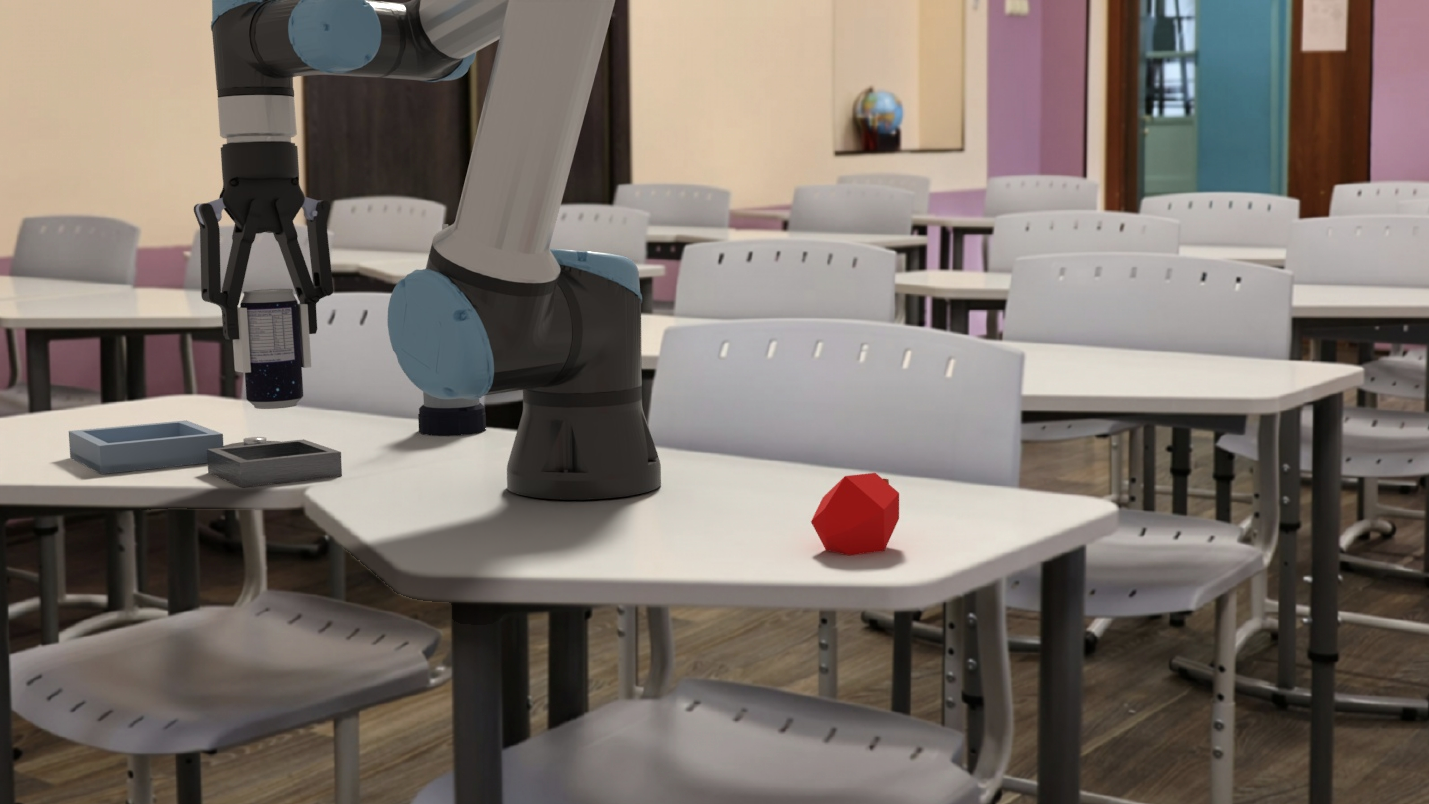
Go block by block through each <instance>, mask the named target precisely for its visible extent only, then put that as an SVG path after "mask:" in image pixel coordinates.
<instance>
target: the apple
mask: <svg viewBox="0 0 1429 804" xmlns="http://www.w3.org/2000/svg"><path fill="white" fill-rule="evenodd" d="M899 520H900V492H898V491H897V490H896V489H895V488H894V487H893V486H892V485H890V481H889V478H882V477H881V476H880V475H879V474H878V473H876V472H871V473H870V472H869V473H860V474H851V475H844V476H843V477H842V479H841V478H840V480H839V481H838V482H837V483H836V484H835V485H834V486H833V487H831V489H830V490H829V491H828V492H827V493H826V494H824V496H822V498H821V501H820V503H819V505H818V507H817V508H816V511H815V513H814V515H813V517H812V519H811V520H810V523H811V524H812V526H813V528H814V530H815V533H816V534H817V535H818V538H819V540H820V542H821V544H822V546H823V547H824V550H825V551H829V552H833V553H837V554H842V555H845V556H854V555H862V554H863V555H864V554H870V553H878V552H885V550H886V548H887V546H888V544H889V542H890V539H891V537H892V535H893V533H894V531H895V529H896V526H897V524H898V522H899Z"/></svg>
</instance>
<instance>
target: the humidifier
mask: <svg viewBox="0 0 1429 804" xmlns="http://www.w3.org/2000/svg"><path fill="white" fill-rule="evenodd" d="M441 225H442V226H441V227H442V229H441V230H443V229H445V228H447V227H449V224H448V223H443V224H441ZM422 393H423V403H422V405H421V406H419V408H418V414H417V415H418V417H417V419H418V434H421V435H427V436H433V437H435V436H436V437H437V436H438V437H453V436H454V437H456V436H459V437H460V436H467V435H468V436H469V435H476V434H480V433H484V432H486V431H487V416H486V415H487V414H486V409H485V408H486V407H485V405H484V404H482V403H481V401H480V398H479V399H472V400H471V399H464V398H459V399H440V398H436V397H433V396H430V395H428V394H426V393H425V392H423V391H422ZM485 428H486V429H485Z"/></svg>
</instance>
